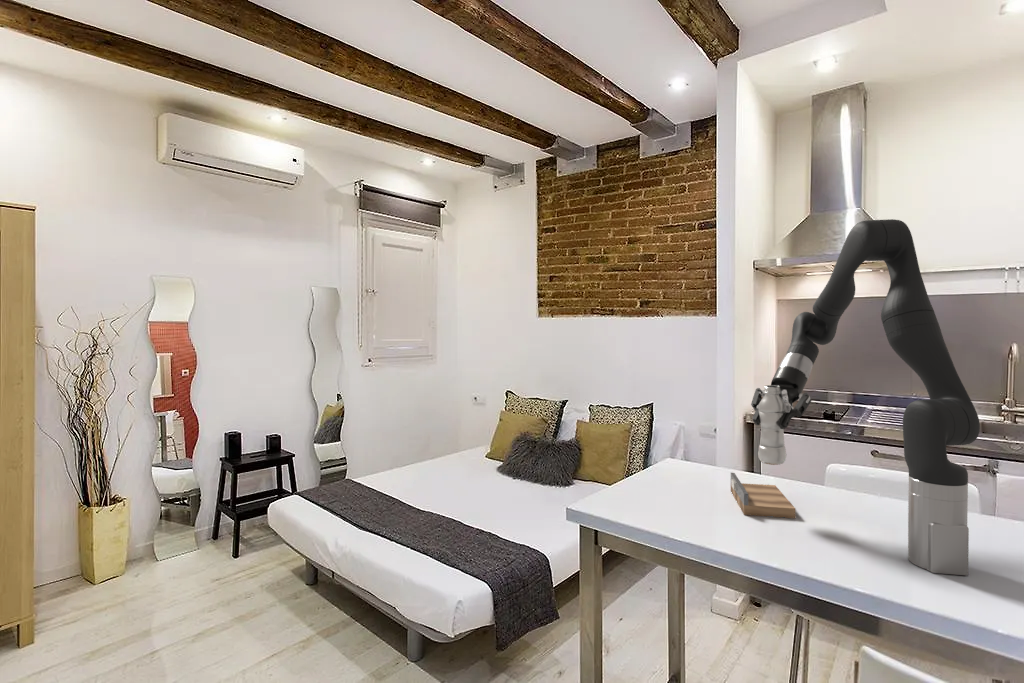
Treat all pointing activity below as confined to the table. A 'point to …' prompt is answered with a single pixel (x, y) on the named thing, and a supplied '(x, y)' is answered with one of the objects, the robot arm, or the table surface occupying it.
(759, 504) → the shelf board
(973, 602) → the table surface
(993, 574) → the table surface
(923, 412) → the robot arm
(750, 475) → the table surface
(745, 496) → the rail
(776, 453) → the silver bottle
